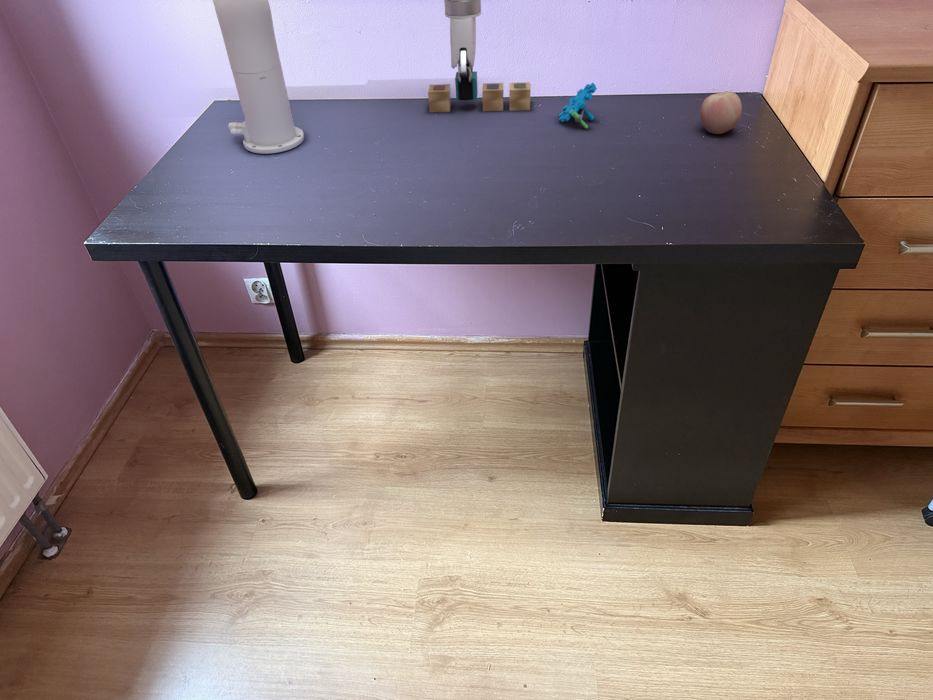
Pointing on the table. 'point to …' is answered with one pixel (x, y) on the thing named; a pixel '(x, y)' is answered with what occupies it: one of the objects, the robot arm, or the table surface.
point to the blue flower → (579, 106)
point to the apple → (721, 112)
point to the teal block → (475, 88)
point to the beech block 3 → (519, 96)
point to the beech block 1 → (439, 98)
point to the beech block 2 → (492, 96)
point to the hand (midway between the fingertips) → (466, 94)
